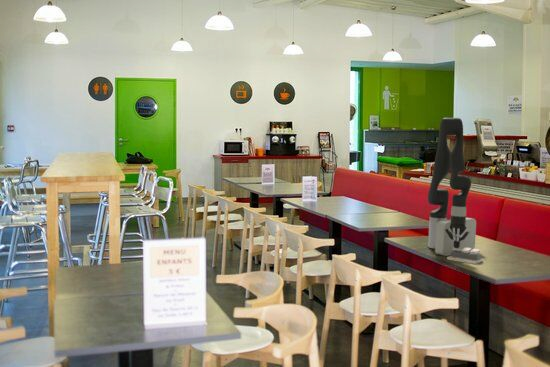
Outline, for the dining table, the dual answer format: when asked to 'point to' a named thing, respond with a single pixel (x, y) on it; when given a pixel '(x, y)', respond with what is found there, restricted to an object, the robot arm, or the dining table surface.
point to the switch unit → (465, 257)
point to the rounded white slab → (446, 244)
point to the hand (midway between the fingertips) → (456, 248)
